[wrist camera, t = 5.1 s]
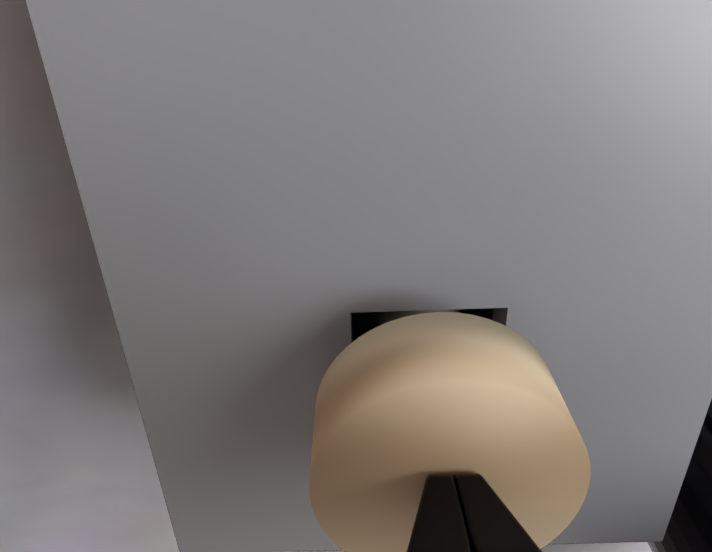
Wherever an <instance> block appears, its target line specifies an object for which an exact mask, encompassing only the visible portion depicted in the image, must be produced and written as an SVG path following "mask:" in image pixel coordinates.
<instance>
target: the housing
mask: <svg viewBox="0 0 712 552" xmlns="http://www.w3.org/2000/svg"><path fill="white" fill-rule="evenodd" d="M26 4H27V7H28V11H29V15H30V18H31V22H32V25H33V29H34V32H35V36H36V40H37V43H38V47H39V50H40V54H41V58H42V61H43V65H44V68H45V72H46V75H47V79H48V83H49V86H50V90H51V93H52V97H53V100H54V104H55V108H56V111H57V115H58V118H59V122H60V126H61V129H62V133H63V136H64V140H65V143H66V147H67V151H68V154H69V158H70V161H71V165H72V168H73V172H74V176H75V179H76V183H77V186H78V190H79V194H80V197H81V201H82V204H83V208H84V211H85V215H86V219H87V222H88V226H89V229H90V233H91V236H92V240H93V244H94V247H95V251H96V254H97V258H98V262H99V265H100V269H101V272H102V276H103V279H104V283H105V287H106V290H107V294H108V297H109V301H110V304H111V308H112V312H113V315H114V319H115V322H116V326H117V330H118V333H119V337H120V340H121V344H122V347H123V351H124V355H125V358H126V362H127V365H128V369H129V373H130V376H131V380H132V383H133V387H134V390H135V394H136V398H137V401H138V405H139V408H140V412H141V415H142V419H143V423H144V426H145V430H146V433H147V437H148V441H149V444H150V448H151V451H152V455H153V458H154V462H155V466H156V469H157V473H158V476H159V480H160V483H161V487H162V491H163V494H164V498H165V501H166V505H167V509H168V512H169V516H170V519H171V523H172V526H173V530H174V534H175V537H176V541H177V544H178V548H179V551H180V552H302V551H337V550H342V549H341V548H340V547H339V546H338V545H336V544H335V543H334V542H333V541H332V540H331V539H330V538H329V537H328V535H327V534H326V533H325V532H324V531H323V529H322V528H321V526H320V524H319V523H318V521H317V519H316V517H315V514H314V512H313V509H312V506H311V501H310V496H309V481H310V468H311V455H312V442H313V430H314V417H315V404H316V398H317V392H318V389H319V386H320V384H321V381H322V379H323V377H324V375H325V373H326V371H327V369H328V368H329V366H330V365H331V364H332V362H333V361H334V360H335V358H336V357H337V356H338V355H339V354H340V353H341V352H342V351H343V350H344V349H345V348H346V347H347V346H348V345H349V344H351V343H352V342H353V341H355V340H356V339H357V338H358V337H360V336H362V335H363V334H365V333H367V332H368V331H370V330H372V329H374V313H373V312H388V311H420V310H451V309H459V310H460V313H464V314H471V315H476V316H480V317H483V318H487V319H490V320H493V321H495V322H498V323H500V324H503V325H505V326H506V327H508V328H510V329H512V330H514V331H515V332H517V333H518V334H520V335H521V336H522V337H524V338H525V339H526V340H527V341H529V342H530V344H531V345H532V346H533V347H534V348H535V349H536V350H537V351H538V352H539V354H540V355H541V357H542V358H543V359H544V361H545V363H546V365H547V367H548V369H549V371H550V373H551V375H552V377H553V379H554V381H555V383H556V385H557V387H558V390H559V392H560V394H561V396H562V398H563V400H564V402H565V404H566V406H567V408H568V410H569V412H570V414H571V416H572V418H573V420H574V422H575V425H576V427H577V429H578V431H579V433H580V435H581V437H582V439H583V441H584V443H585V446H586V448H587V451H588V455H589V459H590V472H591V475H590V482H589V488H588V491H587V494H586V497H585V500H584V502H583V504H582V506H581V508H580V510H579V512H578V513H577V514H576V516H575V517H574V519H573V520H572V521H571V523H570V524H569V525H568V526H567V527H566V528H565V529H564V530H563V531H562V532H561V534H559V535H558V536H557V537H556V538H555V539H553V540H552V541H551V542H550V543H549V544H583V543H618V542H654V541H663V538H664V535H665V532H666V529H667V526H668V523H669V520H670V518H671V515H672V512H673V509H674V506H675V503H676V500H677V497H678V495H679V492H680V489H681V486H682V483H683V480H684V477H685V474H686V471H687V469H688V466H689V463H690V460H691V457H692V454H693V451H694V448H695V445H696V443H697V440H698V437H699V434H700V431H701V428H702V425H703V422H704V419H705V417H706V414H707V411H708V408H709V405H710V402H711V399H712V0H26ZM547 545H548V544H547Z"/></svg>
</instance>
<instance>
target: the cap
mask: <svg viewBox="0 0 712 552" xmlns="http://www.w3.org/2000/svg"><path fill="white" fill-rule="evenodd" d="M373 313H374V329H372V330H370V331H368V332H367V333H365V334H363V335H362V336H360V337H358V338H357V339H356V340H355V341H353V342H352V343H351V344H349V345H348V346H347V347H346V348H345V349H344V350H343V351H342V352H341V353H340V354H339V355H338V356H337V357H336V358H335V360H334V361H333V362H332V364H331V365H330V366H329V368H328V369H327V371H326V373H325V375H324V377H323V379H322V381H321V384H320V386H319V389H318V392H317V398H316V404H315V417H314V430H313V442H312V455H311V468H310V481H309V496H310V501H311V506H312V509H313V512H314V514H315V517H316V519H317V521H318V523H319V524H320V526H321V528H322V529H323V531H324V532H325V533H326V534H327V535H328V537H329V538H330V539H331V540H332V541H333V542H334V543H335V544H336V545H338V546H339V547H340V548H341V549H342V550H344V551H345V552H407V548H408V545H409V541H410V537H411V533H412V530H413V526H414V522H415V518H416V514H417V511H418V507H419V503H420V499H421V496H422V492H423V488H424V484H425V481H426V478H427V476H428V475H430V474H451V475H452V476H453V477H454V475H456V474H458V473H478V474H480V475H482V476H483V477H484V479H485V480H486V481H487V482H488V484H489V485H490V486H491V488H492V489H493V490H494V491H495V493H496V494H497V495H498V496H499V498H500V499H501V500H502V501H503V503H504V504H505V505H506V507H507V508H508V509H509V510H510V512H511V513H512V514H513V515H514V517H515V518H516V519H517V520H518V522H519V523H520V524H521V526H522V527H523V528H524V529H525V531H526V532H527V533H528V534H529V536H530V537H531V538H532V539H533V541H534V542H535V543H536V544H537V546H538V547H539V548H540V549H541V548H543V547H544V546H546V545H547V544H549V543H550V542H551V541H552V540H553V539H555V538H556V537H557V536H558V535H559V534H561V532H562V531H563V530H564V529H565V528H566V527H567V526H568V525H569V524H570V523H571V521H572V520H573V519H574V517H575V516H576V514H577V513H578V512H579V510H580V508H581V506H582V504H583V502H584V500H585V497H586V494H587V491H588V488H589V482H590V475H591V472H590V459H589V455H588V451H587V448H586V446H585V443H584V441H583V439H582V437H581V435H580V433H579V431H578V429H577V427H576V425H575V422H574V420H573V418H572V416H571V414H570V412H569V410H568V408H567V406H566V404H565V402H564V400H563V398H562V396H561V394H560V392H559V390H558V387H557V385H556V383H555V381H554V379H553V377H552V375H551V373H550V371H549V369H548V367H547V365H546V363H545V361H544V359H543V358H542V357H541V355H540V354H539V352H538V351H537V350H536V349H535V348H534V347H533V346H532V345H531V344H530V342H529V341H527V340H526V339H525V338H524V337H522V336H521V335H520V334H518V333H517V332H515V331H514V330H512V329H510V328H508V327H506V326H505V325H503V324H500V323H498V322H495V321H493V320H490V319H487V318H483V317H480V316H476V315H471V314H464V313H460V310H459V309H451V310H420V311H388V312H373Z"/></svg>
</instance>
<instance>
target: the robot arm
mask: <svg viewBox="0 0 712 552" xmlns="http://www.w3.org/2000/svg"><path fill="white" fill-rule="evenodd" d="M648 544H649V546H650V548H651V550H652V552H712V399H711V402H710V405H709V408H708V411H707V414H706V417H705V419H704V422H703V425H702V428H701V431H700V434H699V437H698V440H697V443H696V445H695V448H694V451H693V454H692V457H691V460H690V463H689V466H688V469H687V471H686V474H685V477H684V480H683V483H682V486H681V489H680V492H679V495H678V497H677V500H676V503H675V506H674V509H673V512H672V515H671V518H670V520H669V523H668V526H667V529H666V532H665V535H664V538H663V541H654V542H648ZM407 552H542V551H541V550H540V548H539V547H538V546H537V544H536V543H535V542H534V541H533V539H532V538H531V537H530V536H529V534H528V533H527V532H526V531H525V529H524V528H523V527H522V526H521V524H520V523H519V522H518V520H517V519H516V518H515V517H514V515H513V514H512V513H511V512H510V510H509V509H508V508H507V507H506V505H505V504H504V503H503V501H502V500H501V499H500V498H499V496H498V495H497V494H496V493H495V491H494V490H493V489H492V488H491V486H490V485H489V484H488V482H487V481H486V480H485V479H484V477H483V476H482V475H480V474H478V473H458V474H456V475H454V477H453V476H452V475H451V474H430V475H428V476H427V478H426V481H425V484H424V488H423V492H422V496H421V499H420V503H419V507H418V511H417V514H416V518H415V522H414V526H413V530H412V533H411V537H410V541H409V545H408V548H407Z"/></svg>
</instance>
